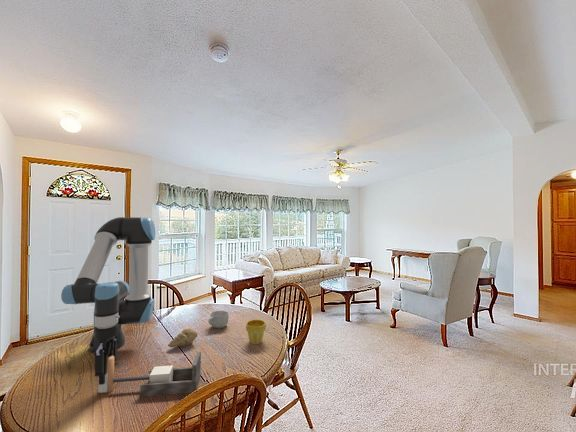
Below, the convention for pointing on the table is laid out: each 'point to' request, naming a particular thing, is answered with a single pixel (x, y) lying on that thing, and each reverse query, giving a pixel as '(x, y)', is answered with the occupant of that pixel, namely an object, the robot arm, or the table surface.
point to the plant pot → (255, 330)
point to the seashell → (184, 338)
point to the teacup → (219, 319)
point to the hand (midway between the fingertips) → (105, 387)
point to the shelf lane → (176, 386)
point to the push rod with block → (155, 377)
